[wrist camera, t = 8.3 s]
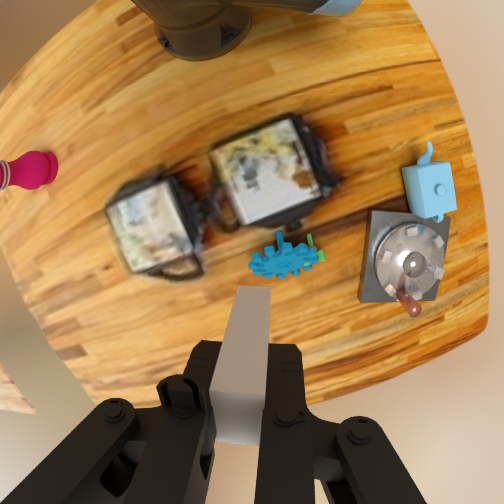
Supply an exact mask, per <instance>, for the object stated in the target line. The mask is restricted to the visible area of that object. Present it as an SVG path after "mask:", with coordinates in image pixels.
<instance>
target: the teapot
mask: <svg viewBox="0 0 504 504" xmlns="http://www.w3.org/2000/svg"><path fill="white" fill-rule="evenodd" d="M432 153H433V147H432V144H431V142H430V141H429V142H428V144H427V151H426V152H425V153H424V154H422V155H421V156H420V157H419V158H418V161H417V165H412V166H407V167H403V168H401V170H402V175H403V180H404V185H405V190H406V195H407V200H408V206H409V212H410V213H412V214H415V215H417V216H420V217H422V218H425V219H426V218H430V217H432V218H433V220H434V221H435V222H437V223H439V222H441V221H442V220H443V218H444V213H447V212H451V211H454V210H457V207H456V198H455V191H454V184H453V179H452V173H451V168H450V163H449V162H435V161H431V162H430V157H431V156H432ZM437 215H438V216H437Z"/></svg>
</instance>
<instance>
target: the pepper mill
mask: <svg viewBox="0 0 504 504" xmlns="http://www.w3.org/2000/svg"><path fill="white" fill-rule="evenodd" d="M56 174H57V160H56V158H55V156H54V155H53V154H52V153H50V152H45V153H41V152H39V151H30V152H27V153H25V154H23V155H22V156H21V157H19V158H18V159H16V160H14V161H12V162H7V161H5V160H1V161H0V191H1V190H4V189H6V188H7V186H11V185H17V186H20V187H22V188H24V189H28V190H32V189H37V188H39V187H40V186H41V185H44V184H49V183H51V182H52V181H53V180H54V178H55V176H56Z"/></svg>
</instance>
